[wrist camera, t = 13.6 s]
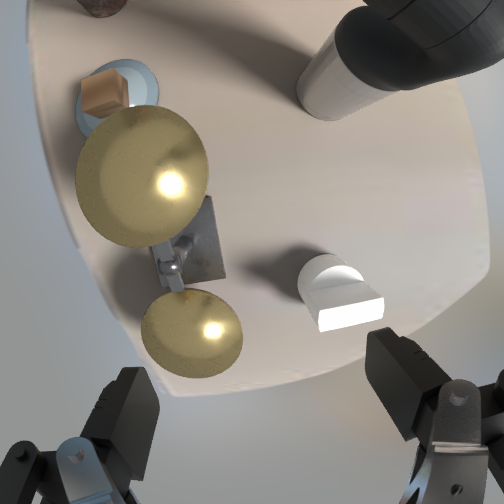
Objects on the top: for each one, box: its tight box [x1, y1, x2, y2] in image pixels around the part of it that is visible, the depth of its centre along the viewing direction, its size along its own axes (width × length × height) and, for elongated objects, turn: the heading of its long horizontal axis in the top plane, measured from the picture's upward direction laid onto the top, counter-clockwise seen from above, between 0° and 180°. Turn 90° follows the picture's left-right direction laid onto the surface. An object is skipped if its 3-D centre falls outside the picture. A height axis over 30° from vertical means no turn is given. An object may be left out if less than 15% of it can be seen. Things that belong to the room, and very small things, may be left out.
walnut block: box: [81, 68, 130, 119], centre depth 31 cm, size 5×5×6 cm
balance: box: [75, 105, 243, 378], centre depth 33 cm, size 33×13×16 cm, turn 9°
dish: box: [76, 59, 159, 138], centre depth 34 cm, size 14×14×1 cm
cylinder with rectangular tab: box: [297, 254, 384, 332], centre depth 39 cm, size 9×9×12 cm
